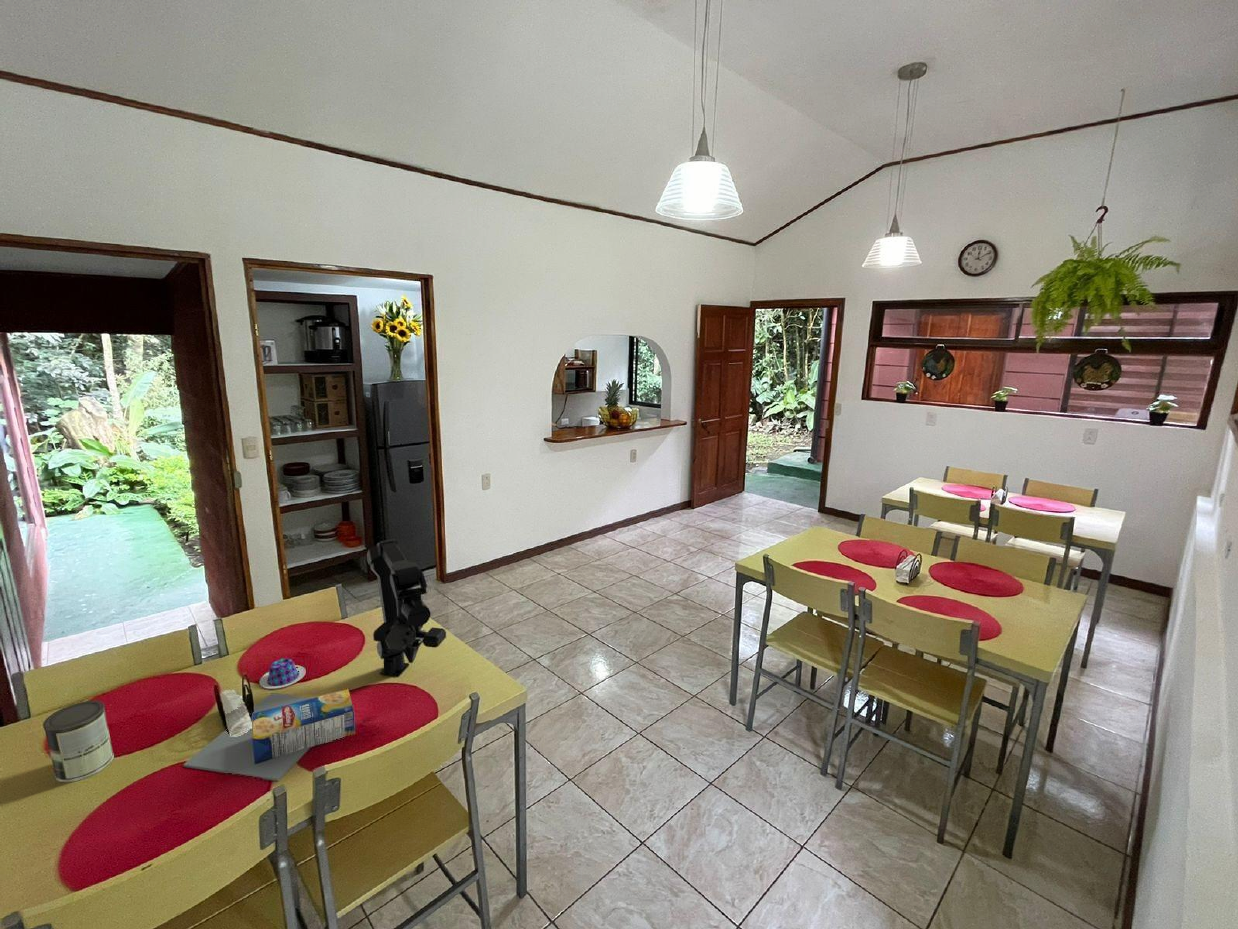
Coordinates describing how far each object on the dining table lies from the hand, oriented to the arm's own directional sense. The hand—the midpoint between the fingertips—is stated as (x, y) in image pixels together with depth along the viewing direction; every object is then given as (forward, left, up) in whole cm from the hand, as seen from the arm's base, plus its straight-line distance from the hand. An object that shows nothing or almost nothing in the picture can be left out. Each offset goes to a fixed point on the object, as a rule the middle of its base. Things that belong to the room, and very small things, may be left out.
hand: (411, 662), depth 155 cm
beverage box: (+10, -12, -10) cm, 18 cm away
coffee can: (+36, -64, -13) cm, 75 cm away
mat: (+18, -29, -13) cm, 37 cm away
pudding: (-4, -44, -14) cm, 47 cm away
